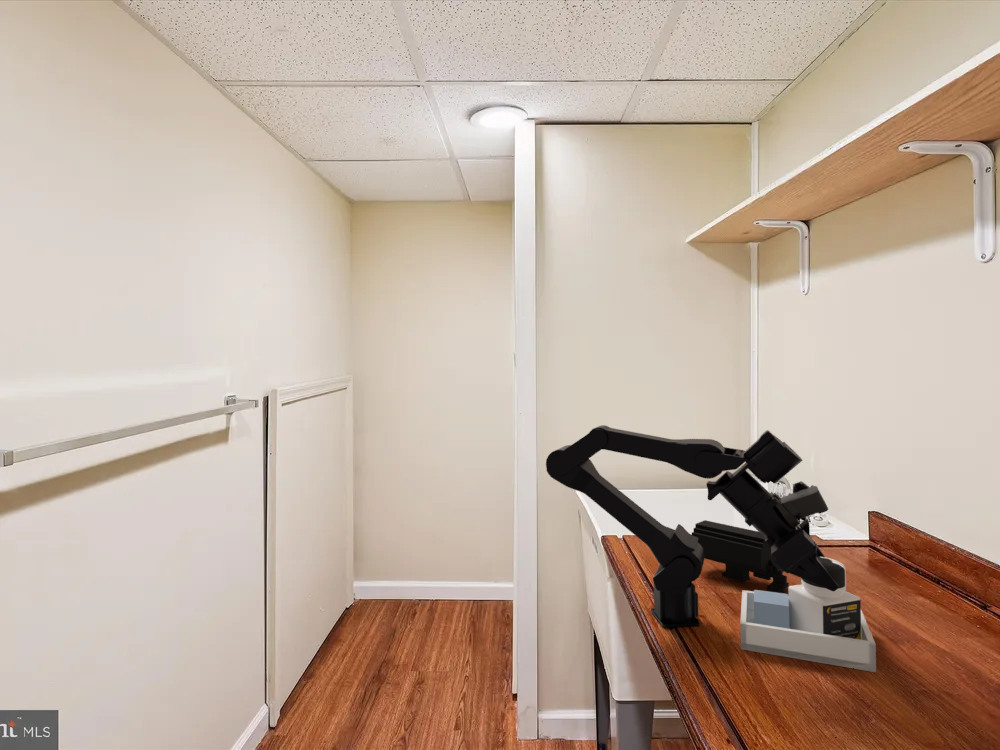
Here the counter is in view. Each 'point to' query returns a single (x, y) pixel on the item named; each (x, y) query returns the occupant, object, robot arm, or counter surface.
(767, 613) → the block
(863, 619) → the tote
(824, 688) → the counter surface
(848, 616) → the medicine bottle
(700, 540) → the security camera
